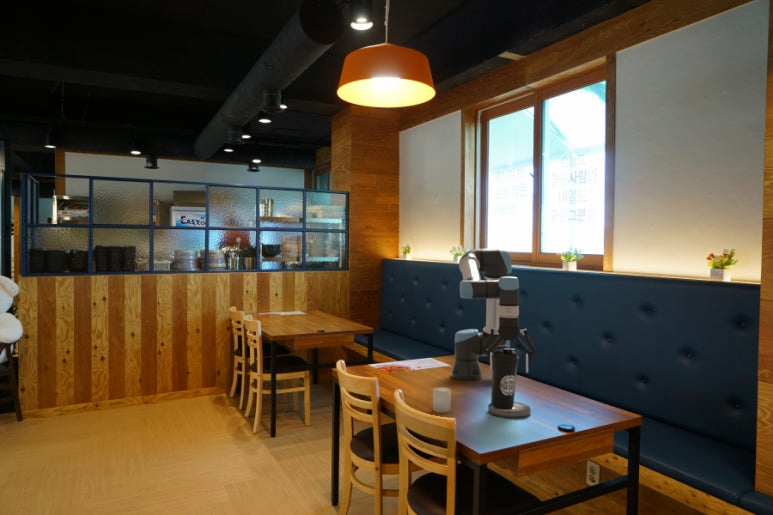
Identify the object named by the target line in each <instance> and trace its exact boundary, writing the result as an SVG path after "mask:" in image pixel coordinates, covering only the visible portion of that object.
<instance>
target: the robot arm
mask: <svg viewBox="0 0 773 515" xmlns="http://www.w3.org/2000/svg"><path fill="white" fill-rule="evenodd" d="M458 267H459V270H460V273H461V274H462V280H461V281H460V282H459V294H460V295H459V296H460V298H461V299H467V300H474V299H475V300H481V299H482V300H486V301H485V302H486V304H485V305H486V307H485V308H486V309H485V311H486V312H485V313H486V315H485V316H486V317H485V326H484V327H483V328H482V332H479V329H477V328H468V329H463V330H458V331H457V332H456V333H455V334H454V340H453V341H454V363H453V367H452V369H451V378H453V379H454V380H455V379H456V380H461V381H476V380H480V379H482V378H483V372H482V369H481V365H480V362H479V357H486V361H487V362H489V371H492V369H493V360H492V354H493V353H494V352H495V351H496V350H497V346H507V347H508V348H510V347H511V342H513V341H516V343H517V344H519V346H520V348H522V349H523V351H525V353H526V354H525V373H527V374H528V373H529V364H531V363H532V355H535V354H537V351H536V348H535V347H534V344H533V343H532V341H531V340H532V339H531V338H530V337H529V334H528V329H527V328H524V329H520V319H519V317H518V316H519V315H520V314H519V313H520V306H519V301H520V299H519V298H520V297H519V293H520V291H519V290H520V283H519V282H520V281H519V278H518V277H517V276H509V274H511V273H512V272H513V270H512V269H513V268H512V260H511V254H510V252H509V250H508V249H506V248H499V247H498V248H497V247H496V248H495V247H494V248H475V249H471V250H469V251H467V252H465V253H463V255H462V256H461V258H460V259H459V262H458ZM481 274H483V277H484V279H483V280H482V276H481ZM520 334H521V335H522V336H524V338H525V340H526V342H527V344H528V346H529V348H530V349H529V348H528V347H527V346H526V344H525V343H524V342H523V341H522V340H521V338H520V337H519V335H520Z"/></svg>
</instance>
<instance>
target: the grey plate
mask: <svg viewBox="0 0 773 515" xmlns="http://www.w3.org/2000/svg"><path fill="white" fill-rule="evenodd" d="M487 409H488V410H487V411H488V413H489V414H490V415H491V416H494V417H497V418H501V419H511V420H519V419H520V420H521V419H526V418H528V417H530V416H531V411H532V410H531V407H530V405H528V404H526V403H524V402H520V401H514V405H513V408H511V409H501V408H496V407H494V406H492V405H491V402H490V403H489V404H488V408H487Z"/></svg>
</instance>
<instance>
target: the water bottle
mask: <svg viewBox="0 0 773 515" xmlns="http://www.w3.org/2000/svg"><path fill="white" fill-rule="evenodd" d="M519 360H520V357H519V356H518V353H517V352H516V348H513V347H512V348H511V347H509V348H508V347H507V346H497V350H496V351H495V352H494V353H493V354H492V372H491V396H490V397H491V399H490V401H491V402H490V403H491V405H492V406H494V407H496V408H501V409H511V408H513V405H514V402H515V393H516V383H517V372H518V363H519Z"/></svg>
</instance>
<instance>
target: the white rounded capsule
mask: <svg viewBox="0 0 773 515" xmlns="http://www.w3.org/2000/svg"><path fill="white" fill-rule="evenodd" d="M451 396H452V394H451V388H448V387H440V386H439V387H434V388H433V389H432V411H434V412H436V413H443V414H444V413H449V412H451V410H452V409H451V408H452V407H451V406H452V403H451V402H452V401H451V400H452V397H451Z"/></svg>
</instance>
